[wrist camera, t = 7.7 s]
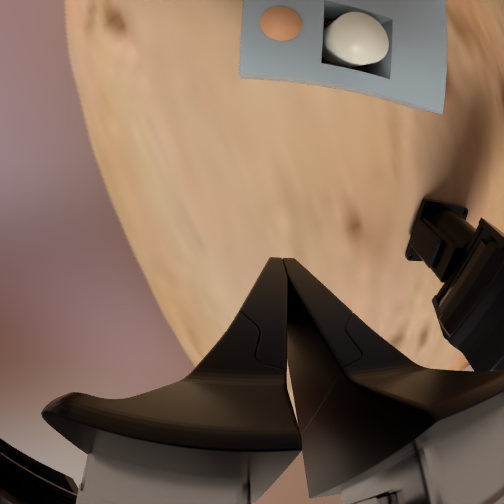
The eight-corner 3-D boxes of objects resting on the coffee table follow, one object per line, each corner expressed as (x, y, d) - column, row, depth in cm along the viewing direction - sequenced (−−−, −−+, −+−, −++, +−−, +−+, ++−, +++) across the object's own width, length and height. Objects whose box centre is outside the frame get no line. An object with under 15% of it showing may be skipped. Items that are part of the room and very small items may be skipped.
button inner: (364, 31, 14) (389, 21, 10) (362, 72, 16) (387, 70, 12) (318, 21, 14) (334, 5, 10) (316, 63, 16) (332, 56, 12)
